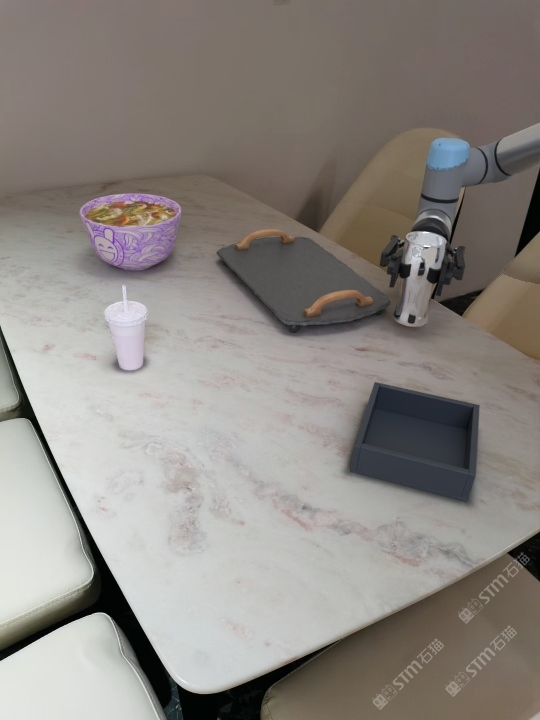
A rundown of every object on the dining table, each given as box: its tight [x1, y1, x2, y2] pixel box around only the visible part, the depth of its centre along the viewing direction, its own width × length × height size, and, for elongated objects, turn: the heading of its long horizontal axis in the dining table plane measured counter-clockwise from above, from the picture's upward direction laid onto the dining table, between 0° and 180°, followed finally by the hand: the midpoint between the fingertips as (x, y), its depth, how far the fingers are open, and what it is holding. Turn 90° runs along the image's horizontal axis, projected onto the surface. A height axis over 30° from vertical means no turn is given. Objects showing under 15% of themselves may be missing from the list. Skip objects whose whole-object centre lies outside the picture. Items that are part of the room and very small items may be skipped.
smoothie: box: [103, 284, 149, 371], centre depth 90 cm, size 6×6×14 cm
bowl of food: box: [78, 193, 182, 272], centre depth 123 cm, size 20×20×12 cm
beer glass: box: [392, 231, 447, 328], centre depth 102 cm, size 7×7×15 cm
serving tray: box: [216, 228, 392, 334], centre depth 118 cm, size 39×23×6 cm, turn 26°
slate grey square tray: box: [349, 381, 481, 503], centre depth 79 cm, size 15×15×5 cm
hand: (416, 284), depth 97 cm, fingers closed on beer glass, 7 cm apart
